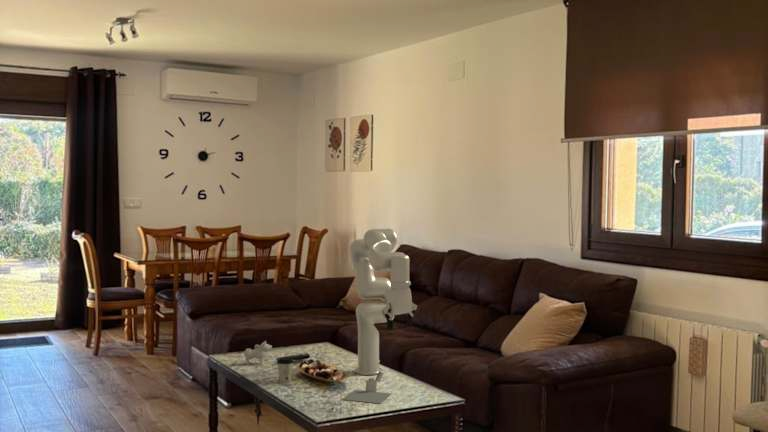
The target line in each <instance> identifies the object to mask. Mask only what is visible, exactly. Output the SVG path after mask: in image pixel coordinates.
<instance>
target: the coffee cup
mask: <svg viewBox="0 0 768 432" xmlns="http://www.w3.org/2000/svg"><path fill="white" fill-rule="evenodd" d="M293 364H294V360H293V359H292V358H291V357H289V356H288V357H287V356H283V357H280V358H279V359H278V360H277V367H278V376H279V382H280V383H281V384H289V383H291V382H292V377H293V376H292V373H293V367H294V366H293Z"/></svg>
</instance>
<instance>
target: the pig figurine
mask: <svg viewBox="0 0 768 432" xmlns="http://www.w3.org/2000/svg"><path fill="white" fill-rule="evenodd" d="M272 348H273V345H271V344H269V343H267V340H265V341H263V342H262V343H261V344H255V345H254V348H253V349H252V348H245V349H244V357H245V363H246V366H250V363H251V362H250V360H252V359H258V360H259V361H260V365H261V366H264V365H265V364H264V359H265V358H266V357H267V355H268V352H269V351H271V350H272Z"/></svg>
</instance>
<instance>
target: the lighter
mask: <svg viewBox="0 0 768 432" xmlns="http://www.w3.org/2000/svg"><path fill="white" fill-rule="evenodd" d="M383 376H384V372H383V371H382V372H381V371H379V373H378V374H376V377H375V378H374V377H369V378H368V380H367V379H366V381H365V391H367V392H377V384H378V383H380V382H381V380H382V377H383ZM377 382H378V383H377Z"/></svg>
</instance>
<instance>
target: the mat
mask: <svg viewBox="0 0 768 432" xmlns="http://www.w3.org/2000/svg"><path fill="white" fill-rule="evenodd" d="M391 395H392V393H390V392H380V391H374V392H367V391H366V390H360V389H353V391H351V392H350V393H349V394H347V395H345V396H344V397H343V398H342V399H341V401H348V402H358V403H366V404H367V403H368V404H375V405H376V404H377V405H381V404H382V403H383V402H384V401H386V400H387V399H388V398H389V397H390V396H391Z"/></svg>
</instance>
